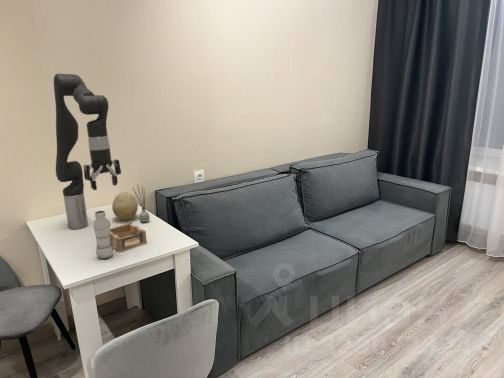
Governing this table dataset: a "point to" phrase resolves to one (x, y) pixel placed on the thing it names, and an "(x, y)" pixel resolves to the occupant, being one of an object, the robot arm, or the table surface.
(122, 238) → the caddy
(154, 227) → the table surface
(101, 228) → the metal bottle
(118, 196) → the fossilized egg
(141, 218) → the reed diffuser
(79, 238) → the table surface
